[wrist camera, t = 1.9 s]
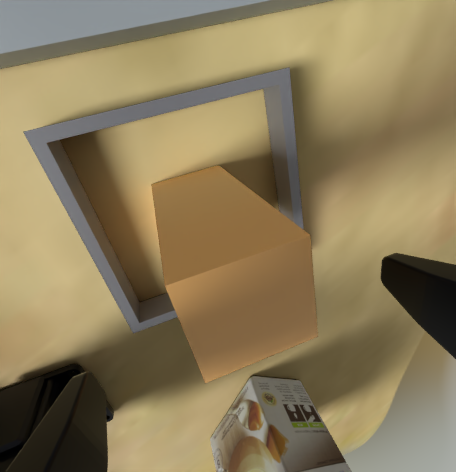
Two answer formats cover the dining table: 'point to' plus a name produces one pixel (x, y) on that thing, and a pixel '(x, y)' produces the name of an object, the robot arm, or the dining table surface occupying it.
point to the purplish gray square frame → (58, 162)
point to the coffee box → (274, 432)
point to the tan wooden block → (233, 271)
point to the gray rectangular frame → (111, 22)
